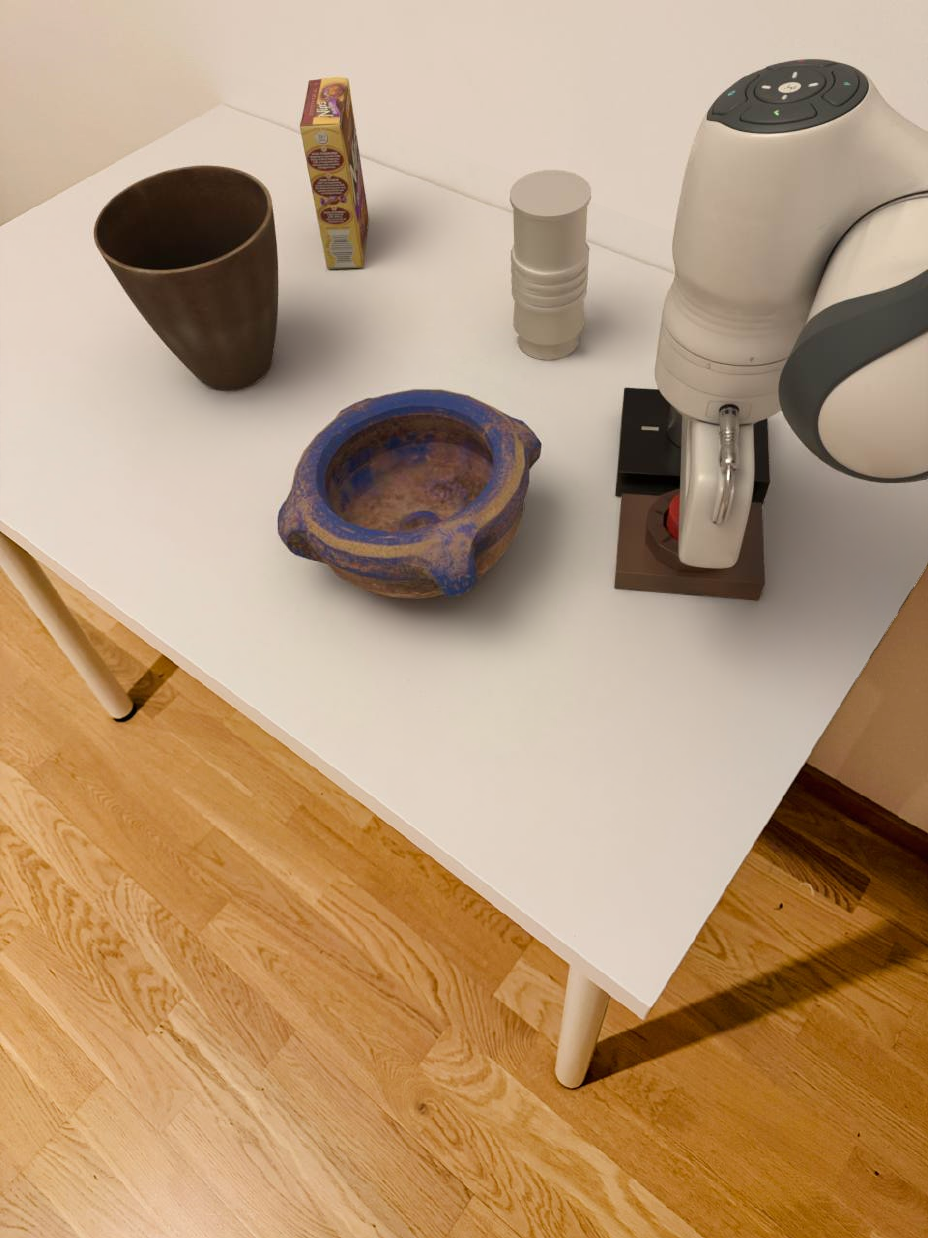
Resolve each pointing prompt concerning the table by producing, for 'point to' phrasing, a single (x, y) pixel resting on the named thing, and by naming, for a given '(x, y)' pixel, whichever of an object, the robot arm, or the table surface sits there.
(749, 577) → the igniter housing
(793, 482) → the table surface
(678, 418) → the knob
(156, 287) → the flower pot
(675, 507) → the igniter button
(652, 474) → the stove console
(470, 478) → the bowl
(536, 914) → the table surface
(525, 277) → the beige ribbed cylinder
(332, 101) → the candy box
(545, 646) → the table surface
